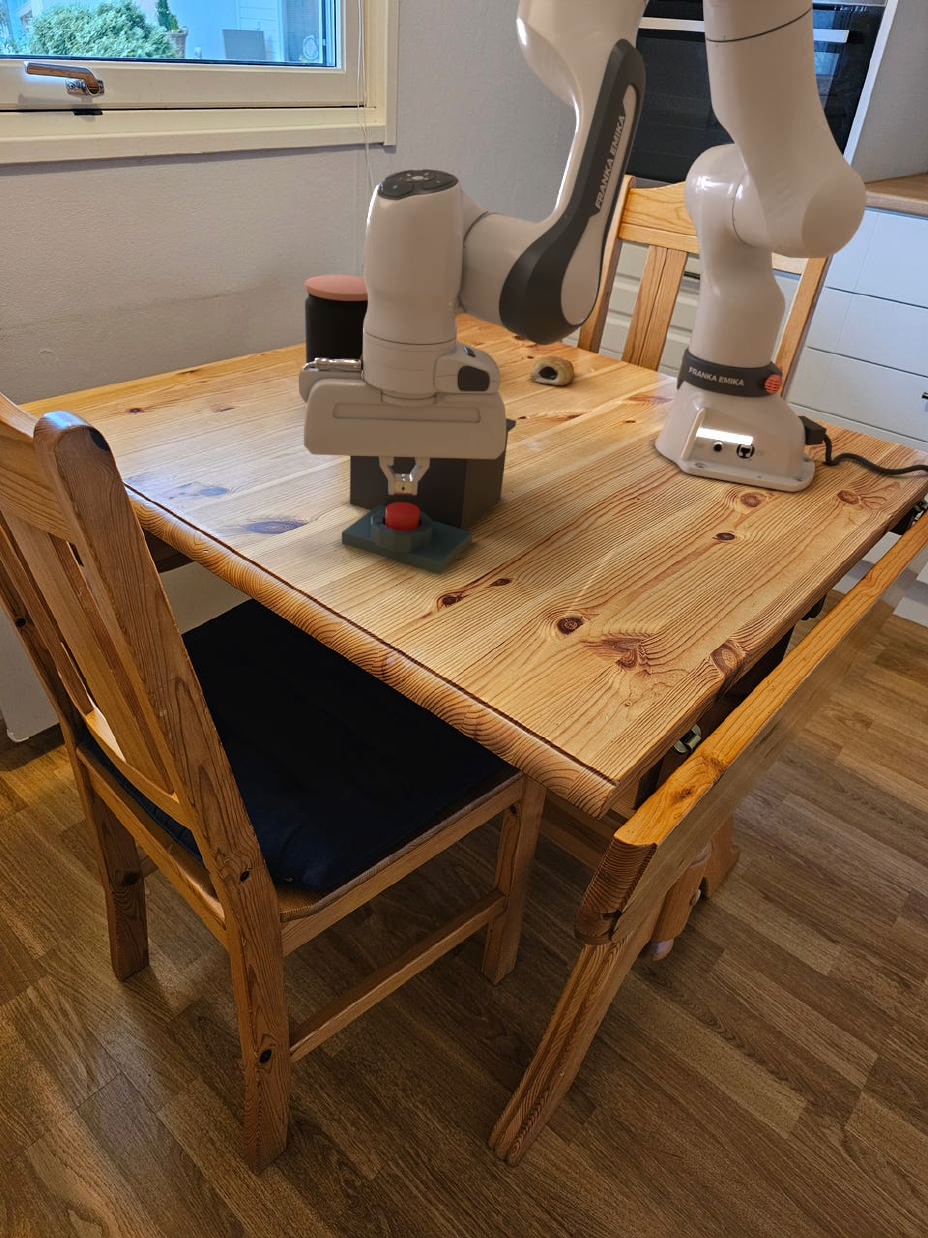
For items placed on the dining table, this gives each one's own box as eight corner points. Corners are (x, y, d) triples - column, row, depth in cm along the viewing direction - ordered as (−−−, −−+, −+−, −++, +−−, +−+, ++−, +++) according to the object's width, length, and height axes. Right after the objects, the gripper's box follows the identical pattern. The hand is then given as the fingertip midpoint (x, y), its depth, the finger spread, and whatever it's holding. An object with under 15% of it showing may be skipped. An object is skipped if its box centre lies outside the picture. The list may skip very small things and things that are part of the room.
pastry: (544, 366, 151) (547, 345, 149) (580, 374, 150) (584, 353, 147) (527, 381, 144) (530, 358, 142) (565, 389, 142) (569, 367, 140)
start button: (424, 522, 92) (425, 507, 91) (408, 535, 89) (409, 520, 88) (395, 513, 93) (396, 498, 92) (378, 526, 90) (379, 511, 89)
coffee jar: (368, 429, 121) (370, 297, 111) (296, 418, 122) (292, 287, 112) (388, 404, 129) (392, 280, 119) (321, 394, 131) (319, 270, 121)
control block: (471, 544, 95) (474, 516, 93) (436, 578, 89) (438, 549, 87) (378, 515, 99) (379, 488, 97) (337, 546, 92) (337, 518, 90)
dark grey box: (500, 500, 105) (509, 424, 100) (460, 537, 96) (467, 457, 91) (397, 470, 110) (400, 397, 104) (349, 504, 101) (350, 425, 95)
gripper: (297, 367, 77) (300, 504, 85) (517, 376, 80) (501, 507, 88) (299, 346, 82) (302, 477, 90) (505, 355, 86) (491, 481, 93)
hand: (402, 492), depth 89 cm, fingers closed
